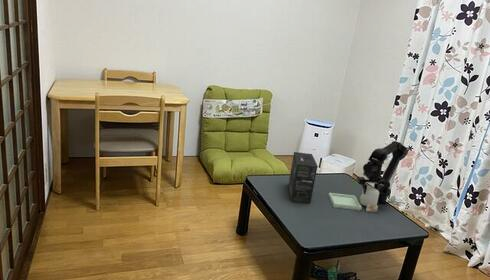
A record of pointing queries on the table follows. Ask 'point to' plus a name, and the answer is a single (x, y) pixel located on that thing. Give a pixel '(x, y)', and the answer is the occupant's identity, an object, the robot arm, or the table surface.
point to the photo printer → (370, 196)
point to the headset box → (302, 177)
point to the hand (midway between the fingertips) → (370, 195)
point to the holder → (371, 207)
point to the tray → (344, 201)
